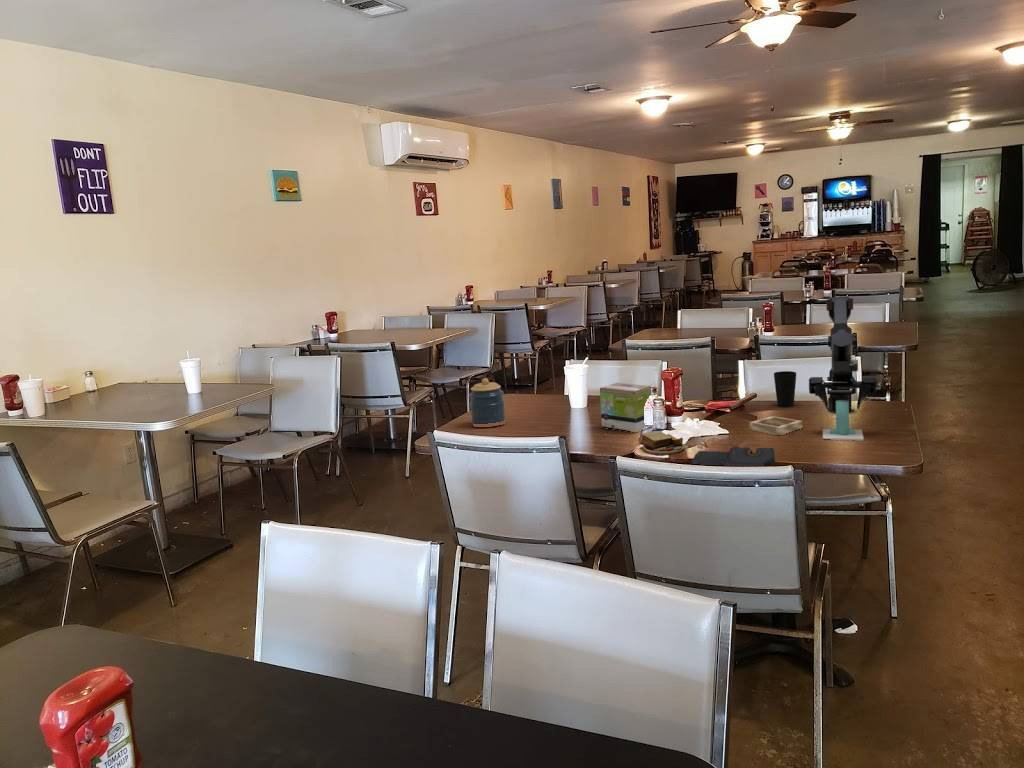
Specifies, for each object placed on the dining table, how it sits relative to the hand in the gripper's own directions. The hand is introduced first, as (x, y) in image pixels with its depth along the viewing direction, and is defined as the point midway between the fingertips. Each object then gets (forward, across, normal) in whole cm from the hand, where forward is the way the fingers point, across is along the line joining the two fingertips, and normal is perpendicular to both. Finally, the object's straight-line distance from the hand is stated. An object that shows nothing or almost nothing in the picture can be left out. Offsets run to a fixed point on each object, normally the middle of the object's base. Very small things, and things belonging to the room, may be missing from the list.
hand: (842, 408), depth 224 cm
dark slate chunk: (+29, -28, -16) cm, 44 cm away
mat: (+5, 0, +7) cm, 9 cm away
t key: (+5, 0, +7) cm, 8 cm away
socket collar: (0, -19, +12) cm, 23 cm away
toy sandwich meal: (+20, -51, -7) cm, 55 cm away
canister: (0, -121, +13) cm, 122 cm away
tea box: (+1, -68, +12) cm, 69 cm away
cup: (-25, -18, +37) cm, 48 cm away
